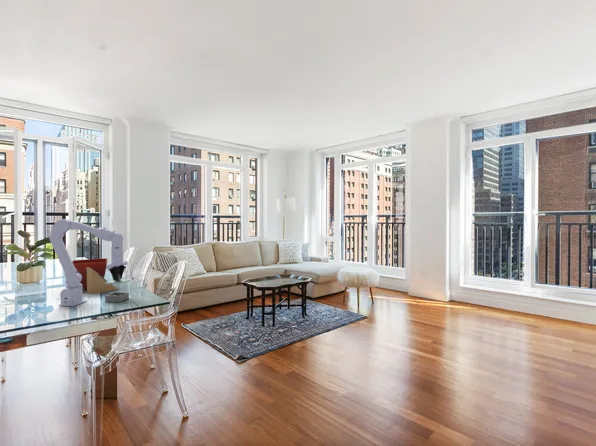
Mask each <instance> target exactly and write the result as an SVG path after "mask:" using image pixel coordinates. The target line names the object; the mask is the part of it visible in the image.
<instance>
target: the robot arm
mask: <svg viewBox="0 0 596 446" xmlns="http://www.w3.org/2000/svg"><path fill="white" fill-rule="evenodd" d="M51 227H52V228H51V232H50V233H49V234H50V235H49V241H50V244H51V245H52V247H53V249H54V252H55V254H56V256H57V259H58V261H59V263H60V265H61V267H62V270H63V272H64V276H65V288H64V289H62V290H61V291H60V295H59V296H60V298H59V299H60V304H58V306H60V307H75V306H78V305H80V304H83V303H86V302H87V300H86V299H83V297H84V295H83V294H84V293H83V290H84V289H82V284H81V283H80V281H81V280H82V275H81V274H80V273H78V271H77V269H76V268H75V267H74V265H73V262H72V261H73V259H72V258H71V255H70V254H69V252H68V250H67V247H66V244H65V243H64V240H63V237H64V236H65V234H66V233H68V231H70V230H71V231H76V230H79V231H82V232H86V233H89V234H92V235H94V237H95V238H96V239H100V240H103V241H106V242H111V247H110V258H111V260H110V261H111V263H109V264H107V265H106V270H108V271H109V273H110V274H111V276H112V280H114V281H117V280H118V274H120V279H123V276H124V272H125V270H126V269H127V266H128V264H129V263H128V261H125V260H124V245H123V244H124V243H123V242H124V237H123V235H122V234H121V233H119V232H116V231H115V230H114V231H113V230H109V229H107V228H106V227H98V228H95V227H93V226H90V225H87V224H85V223H82V222H80V221H75V220H69V219H67V218H63V219H62V218H61V219H58V220H56V221H55V222H54V224H53V225H52V226H51Z"/></svg>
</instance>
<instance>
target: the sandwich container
mask: <svg viewBox="0 0 596 446" xmlns="http://www.w3.org/2000/svg"><path fill="white" fill-rule="evenodd" d="M108 281H109V280H107V279H106V278H105V277H104V278H103V277H102V276H100V275H99V274H98V273H96V272H95V271H94V270H93V269H91V268H88V267H87V289H86V293H88V294H91V295H95V294H101V293H107V292H106V291H108V292H111V291H110V290H114V291H116V290H115V289H119V288H118V287H116V286H115V284H105V282H108Z"/></svg>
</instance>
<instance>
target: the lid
mask: <svg viewBox="0 0 596 446" xmlns="http://www.w3.org/2000/svg"><path fill="white" fill-rule="evenodd" d="M107 281H108V282H105V284H112V285H114V286H115V285H116V286H117V285H122V284H125V283H128V282H131V279H123V278H122V279H120V274H118V280H117V281H114V280H113V279H112V280H107Z"/></svg>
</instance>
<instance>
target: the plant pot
mask: <svg viewBox="0 0 596 446" xmlns="http://www.w3.org/2000/svg"><path fill="white" fill-rule="evenodd" d="M72 262H73V265H74V267H75V268H76V269H77V271H78V273H80V274H81V275H82V280H81V281H80V283H81V284H82V290H87V267H88V268H91V269H93V270H94V271H95V272H96V273H98V274H99V275H100V276H102V277H103V278H104V279H105V277H106V272H107V271H106V270H107V269H106V265H108V258H89V259H88V258H87V259H74V260H73V259H72Z"/></svg>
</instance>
